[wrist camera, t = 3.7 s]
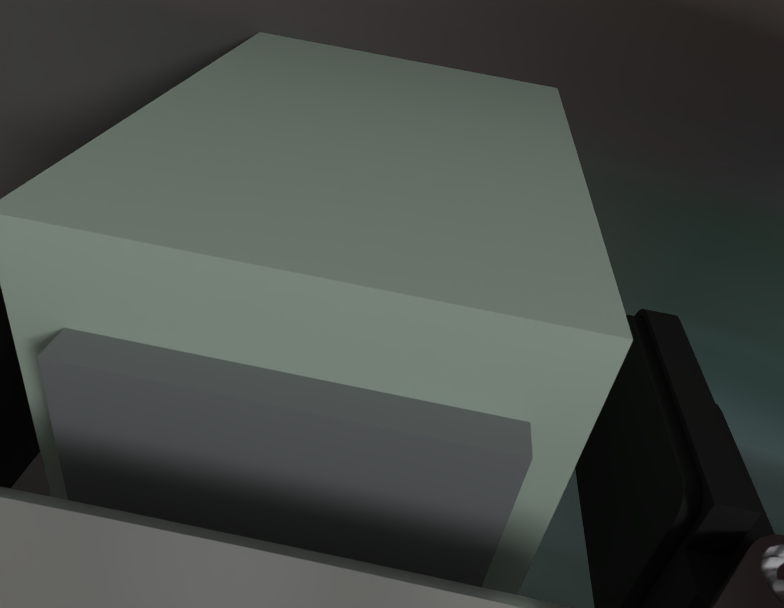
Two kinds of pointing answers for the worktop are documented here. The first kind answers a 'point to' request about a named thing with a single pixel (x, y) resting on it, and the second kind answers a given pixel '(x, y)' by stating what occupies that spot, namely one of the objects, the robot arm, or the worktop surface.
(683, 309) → the worktop surface
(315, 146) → the block
